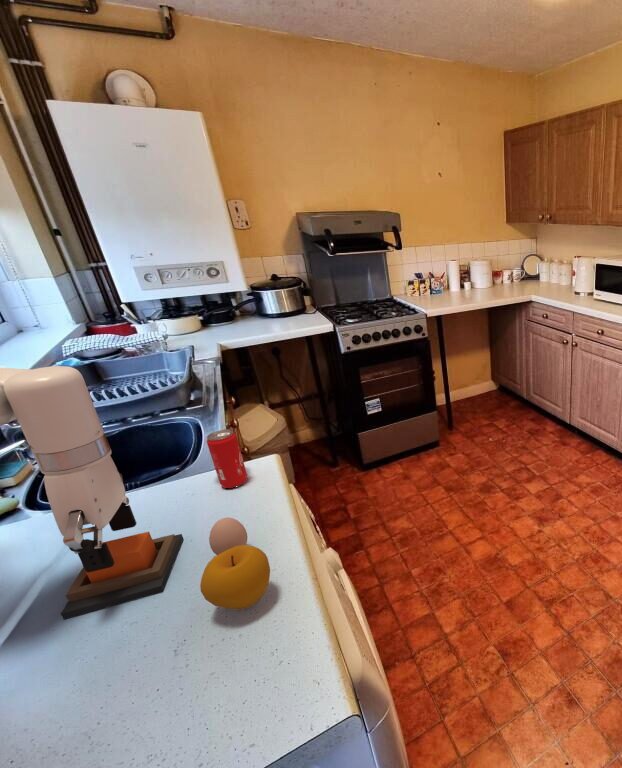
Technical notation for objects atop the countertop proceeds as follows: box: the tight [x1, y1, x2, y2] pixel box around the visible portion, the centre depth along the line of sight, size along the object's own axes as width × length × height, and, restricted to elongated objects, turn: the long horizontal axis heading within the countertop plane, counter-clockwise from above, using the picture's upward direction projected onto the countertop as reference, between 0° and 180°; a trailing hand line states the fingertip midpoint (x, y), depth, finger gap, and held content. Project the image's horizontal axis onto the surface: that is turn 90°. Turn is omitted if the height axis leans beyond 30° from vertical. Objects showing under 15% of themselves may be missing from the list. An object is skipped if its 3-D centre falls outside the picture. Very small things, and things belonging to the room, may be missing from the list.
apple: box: [200, 544, 271, 611], centre depth 64 cm, size 8×8×9 cm
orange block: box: [82, 531, 158, 583], centre depth 70 cm, size 7×5×4 cm
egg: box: [208, 517, 248, 556], centre depth 73 cm, size 5×5×7 cm
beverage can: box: [206, 428, 248, 489], centre depth 93 cm, size 5×5×12 cm
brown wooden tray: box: [60, 533, 184, 620], centre depth 71 cm, size 12×13×3 cm
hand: (113, 547), depth 69 cm, fingers open, 9 cm apart
